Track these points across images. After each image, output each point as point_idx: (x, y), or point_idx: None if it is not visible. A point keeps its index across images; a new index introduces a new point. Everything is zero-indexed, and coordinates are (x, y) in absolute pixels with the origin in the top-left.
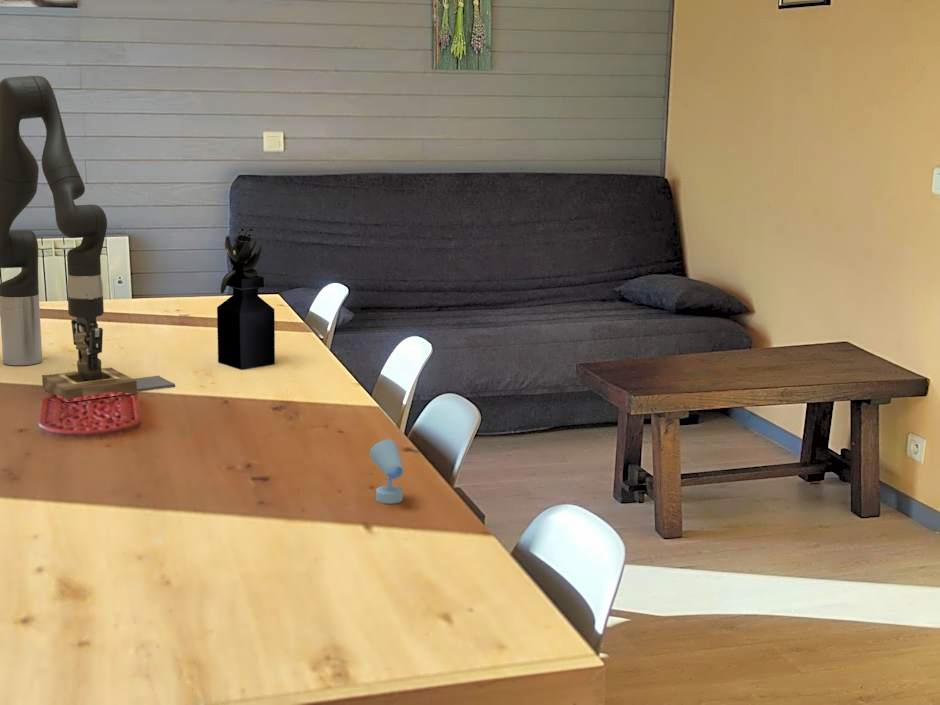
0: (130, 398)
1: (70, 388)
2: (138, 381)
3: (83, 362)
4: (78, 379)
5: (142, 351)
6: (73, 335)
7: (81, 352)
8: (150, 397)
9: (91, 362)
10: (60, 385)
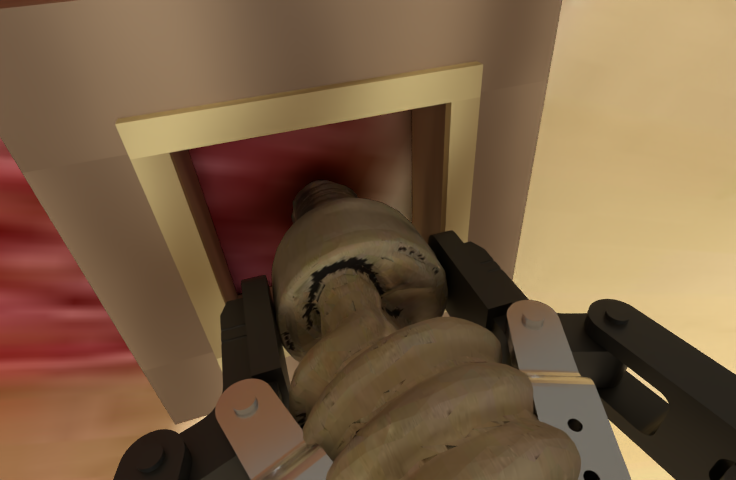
0: (86, 350)
1: (1, 77)
2: None
3: (317, 283)
4: (431, 173)
5: (717, 360)
6: (695, 364)
7: (341, 340)
8: (92, 412)
9: (222, 346)
10: (154, 12)
